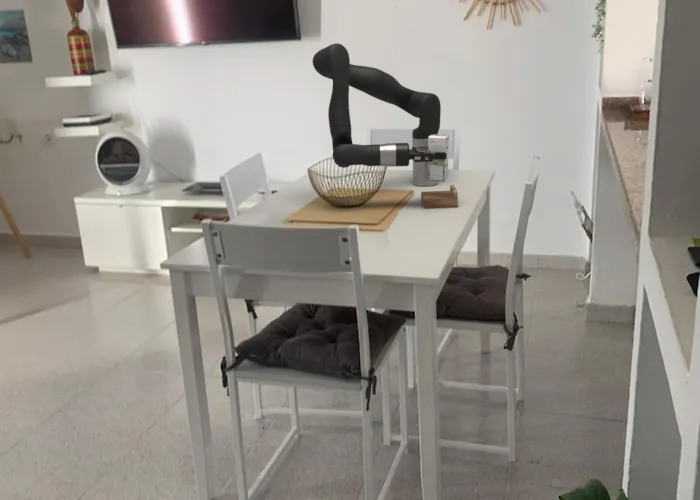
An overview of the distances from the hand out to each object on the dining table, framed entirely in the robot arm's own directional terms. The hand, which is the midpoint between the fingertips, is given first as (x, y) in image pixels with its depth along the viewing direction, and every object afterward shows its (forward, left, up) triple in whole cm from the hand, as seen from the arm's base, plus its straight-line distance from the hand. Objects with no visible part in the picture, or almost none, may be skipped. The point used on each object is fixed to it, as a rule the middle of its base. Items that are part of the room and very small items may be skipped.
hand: (445, 153), depth 242 cm
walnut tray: (0, -2, -17) cm, 17 cm away
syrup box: (0, -2, -9) cm, 9 cm away
